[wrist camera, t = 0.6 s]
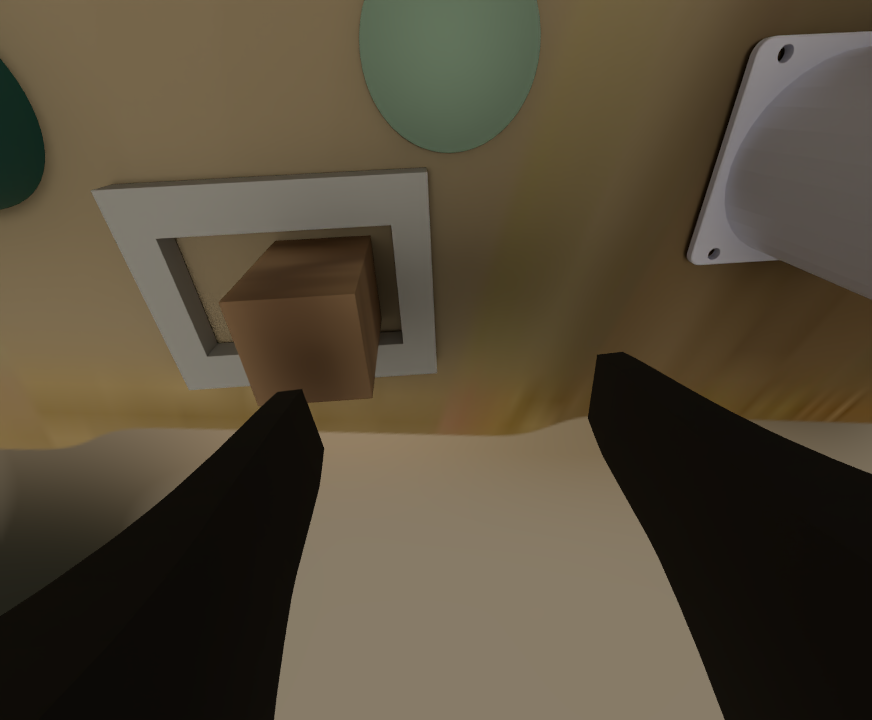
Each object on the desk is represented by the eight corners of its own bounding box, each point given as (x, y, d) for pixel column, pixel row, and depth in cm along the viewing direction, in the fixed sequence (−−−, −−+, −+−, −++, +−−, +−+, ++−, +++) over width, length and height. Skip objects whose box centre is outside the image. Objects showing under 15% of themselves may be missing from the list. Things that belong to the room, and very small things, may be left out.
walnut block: (370, 235, 17) (354, 293, 12) (381, 319, 19) (372, 398, 14) (275, 240, 17) (218, 302, 12) (297, 324, 19) (258, 406, 14)
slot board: (426, 167, 15) (427, 171, 14) (435, 359, 20) (437, 373, 19) (111, 184, 15) (90, 190, 14) (200, 375, 20) (189, 390, 19)
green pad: (547, -79, 12) (550, -84, 11) (529, 147, 15) (531, 148, 15) (346, -71, 12) (344, -76, 11) (372, 155, 15) (372, 157, 15)
